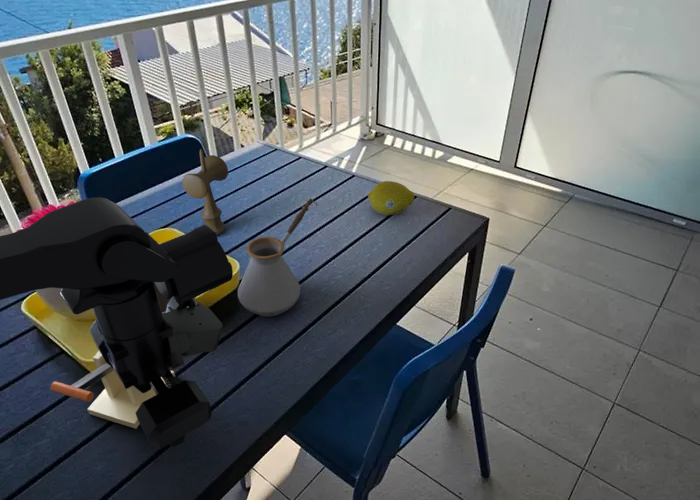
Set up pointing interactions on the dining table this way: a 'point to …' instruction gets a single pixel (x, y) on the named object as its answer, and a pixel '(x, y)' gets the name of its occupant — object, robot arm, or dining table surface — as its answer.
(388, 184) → the lemon
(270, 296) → the coffee pot
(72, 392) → the lever
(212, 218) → the kendama
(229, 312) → the dining table surface
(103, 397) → the bracket
